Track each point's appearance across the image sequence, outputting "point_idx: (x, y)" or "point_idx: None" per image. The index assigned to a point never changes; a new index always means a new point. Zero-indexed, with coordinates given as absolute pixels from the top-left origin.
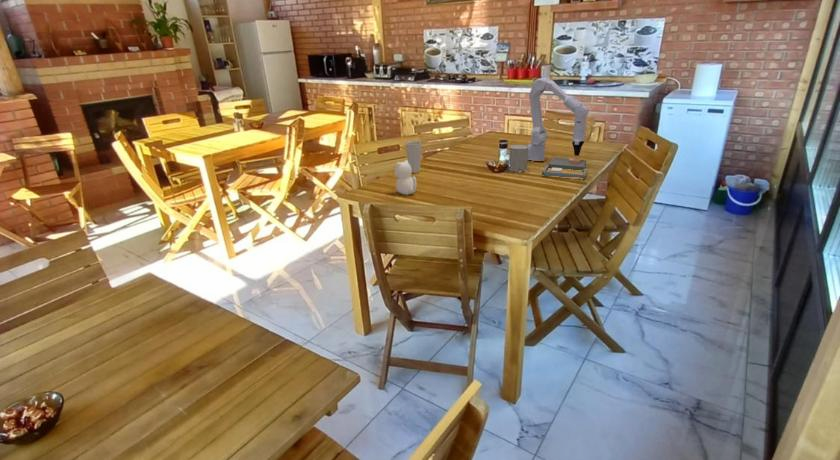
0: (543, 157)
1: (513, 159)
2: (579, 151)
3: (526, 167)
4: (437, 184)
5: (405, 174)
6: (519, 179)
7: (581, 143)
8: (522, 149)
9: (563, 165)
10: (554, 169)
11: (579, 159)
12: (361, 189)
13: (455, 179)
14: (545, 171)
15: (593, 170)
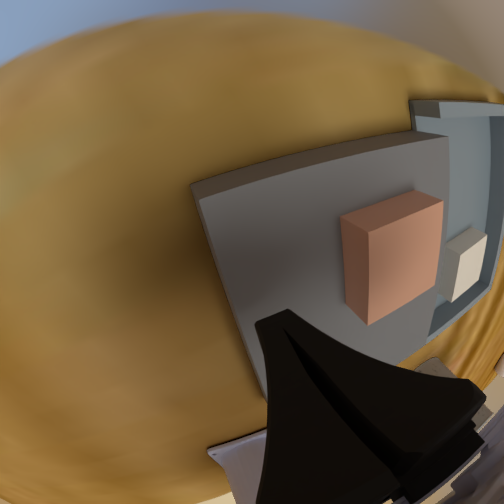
0: (264, 450)
1: None
2: (332, 341)
3: (432, 371)
4: (484, 369)
5: None
6: (487, 307)
7: (461, 425)
8: (491, 412)
9: (440, 275)
10: (473, 273)
11: (404, 223)
12: (482, 390)
13: (469, 379)
14: (490, 282)
15: (324, 58)
